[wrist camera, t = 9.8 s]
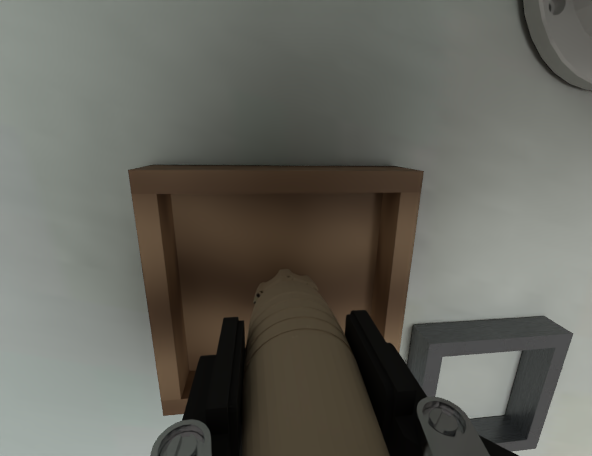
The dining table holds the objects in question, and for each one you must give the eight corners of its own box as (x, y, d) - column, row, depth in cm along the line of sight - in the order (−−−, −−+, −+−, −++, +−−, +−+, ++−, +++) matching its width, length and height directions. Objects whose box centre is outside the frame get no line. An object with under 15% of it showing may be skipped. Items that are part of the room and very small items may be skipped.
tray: (153, 164, 15) (128, 169, 12) (395, 166, 16) (423, 171, 14) (178, 373, 19) (163, 415, 16) (374, 358, 20) (393, 394, 17)
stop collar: (413, 324, 20) (429, 344, 18) (544, 316, 21) (573, 333, 19) (396, 437, 23) (409, 464, 21) (513, 423, 24) (535, 448, 22)
